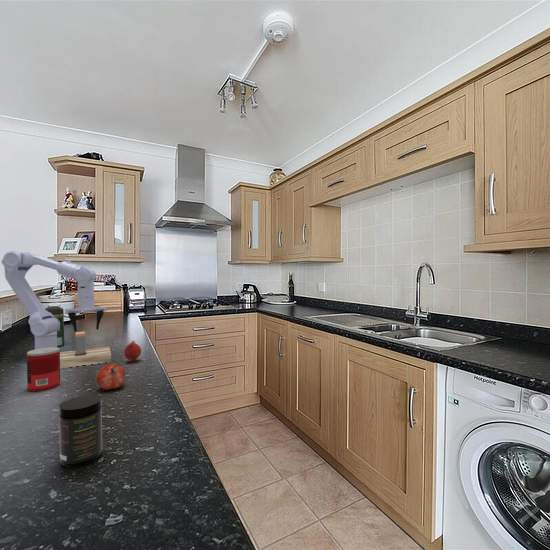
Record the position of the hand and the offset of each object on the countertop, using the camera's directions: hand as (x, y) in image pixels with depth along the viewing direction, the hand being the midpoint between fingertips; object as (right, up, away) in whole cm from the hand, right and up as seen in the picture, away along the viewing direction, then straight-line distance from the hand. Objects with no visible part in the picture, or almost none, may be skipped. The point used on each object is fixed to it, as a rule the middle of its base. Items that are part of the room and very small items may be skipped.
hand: (86, 330), depth 127 cm
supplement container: (+42, -11, -70) cm, 83 cm away
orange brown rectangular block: (+3, -7, -9) cm, 12 cm away
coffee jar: (-26, -11, +17) cm, 33 cm away
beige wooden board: (+3, -11, -9) cm, 14 cm away
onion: (+23, -11, -9) cm, 27 cm away
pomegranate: (+29, -11, -36) cm, 47 cm away
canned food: (+8, -11, -35) cm, 37 cm away
